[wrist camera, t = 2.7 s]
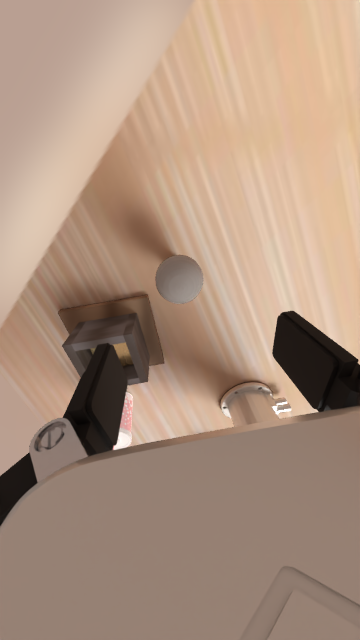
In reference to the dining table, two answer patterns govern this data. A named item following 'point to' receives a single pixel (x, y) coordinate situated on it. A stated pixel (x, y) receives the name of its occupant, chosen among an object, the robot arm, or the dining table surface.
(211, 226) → the dining table surface
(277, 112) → the dining table surface
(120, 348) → the plate
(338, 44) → the dining table surface
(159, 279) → the light bulb
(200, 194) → the dining table surface
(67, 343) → the socket block
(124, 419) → the beverage cup
